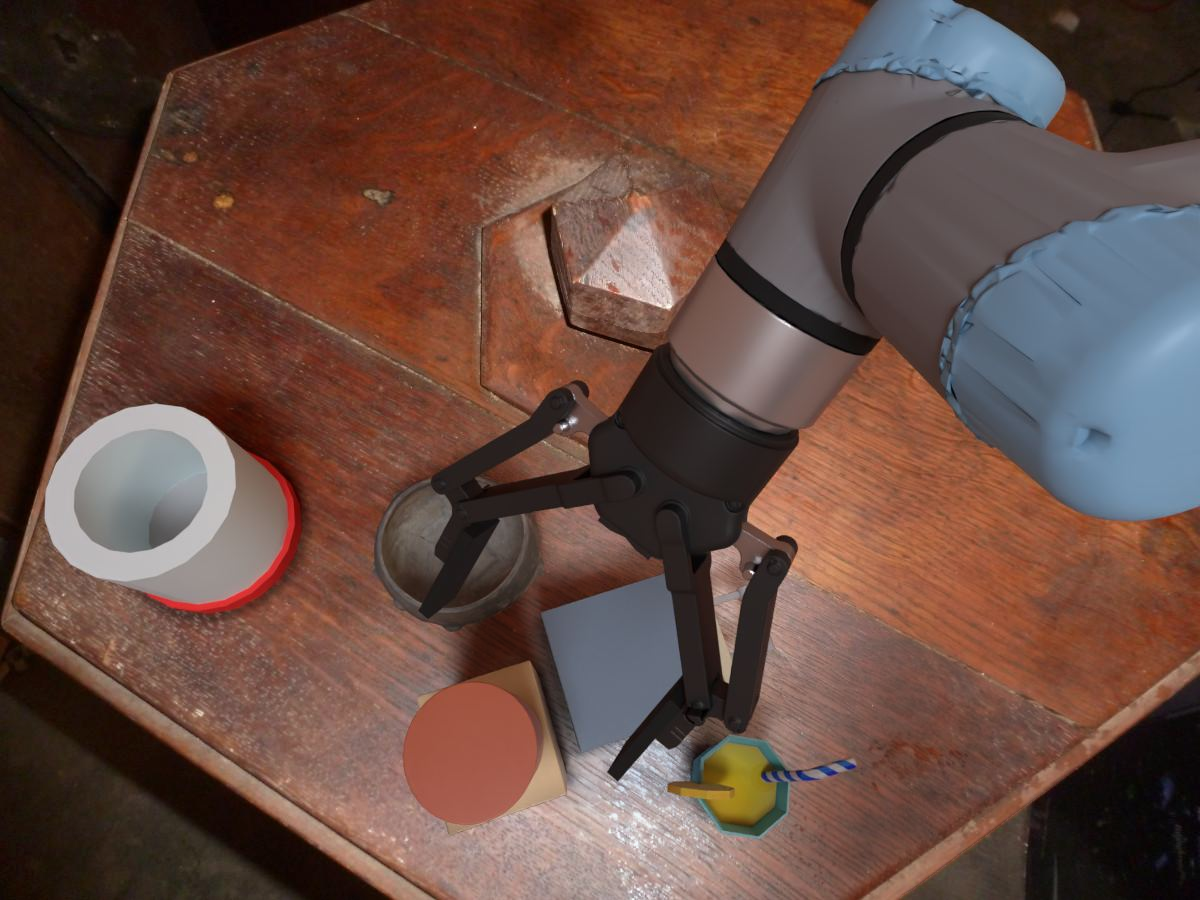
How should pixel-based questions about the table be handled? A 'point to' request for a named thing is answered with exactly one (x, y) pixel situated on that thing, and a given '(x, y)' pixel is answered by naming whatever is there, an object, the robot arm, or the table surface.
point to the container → (172, 510)
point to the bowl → (415, 567)
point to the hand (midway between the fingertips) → (526, 681)
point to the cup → (747, 784)
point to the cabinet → (614, 658)
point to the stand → (551, 768)
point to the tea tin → (472, 752)
